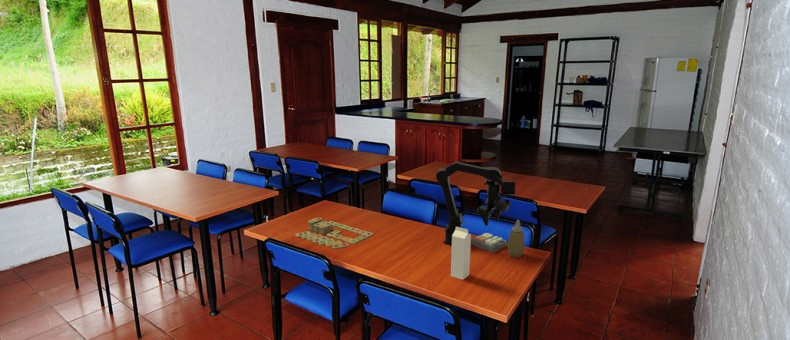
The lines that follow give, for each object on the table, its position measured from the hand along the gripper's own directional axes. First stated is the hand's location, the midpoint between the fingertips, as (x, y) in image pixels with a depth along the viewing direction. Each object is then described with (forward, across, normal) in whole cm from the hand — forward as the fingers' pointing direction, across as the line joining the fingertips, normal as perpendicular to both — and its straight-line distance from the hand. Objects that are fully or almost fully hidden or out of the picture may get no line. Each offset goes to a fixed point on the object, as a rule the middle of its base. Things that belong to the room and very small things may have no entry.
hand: (491, 223), depth 210 cm
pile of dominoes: (+13, -46, +69) cm, 84 cm away
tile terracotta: (+10, -1, +5) cm, 12 cm away
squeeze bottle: (+13, 0, -14) cm, 19 cm away
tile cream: (+10, -1, -1) cm, 11 cm away
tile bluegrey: (+10, +4, -1) cm, 11 cm away
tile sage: (+10, +4, +5) cm, 12 cm away
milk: (+13, -35, -7) cm, 38 cm away
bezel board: (+13, +1, +2) cm, 13 cm away
